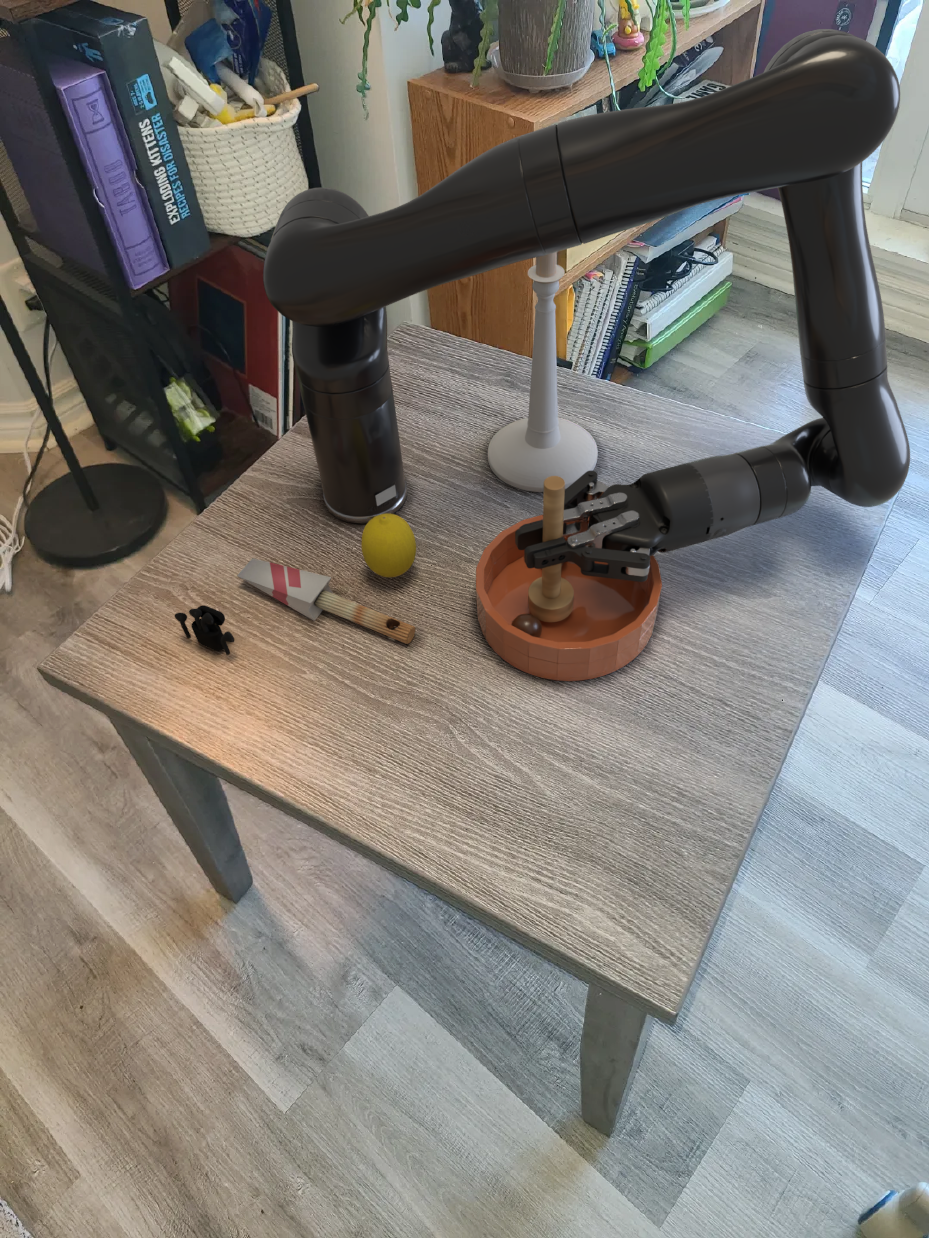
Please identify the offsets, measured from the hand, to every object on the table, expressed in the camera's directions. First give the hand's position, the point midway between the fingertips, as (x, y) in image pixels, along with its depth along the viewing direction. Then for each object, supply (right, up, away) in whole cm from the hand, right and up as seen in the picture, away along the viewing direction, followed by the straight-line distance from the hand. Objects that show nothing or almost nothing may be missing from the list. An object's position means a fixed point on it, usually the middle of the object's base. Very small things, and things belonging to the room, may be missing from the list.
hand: (521, 549), depth 81 cm
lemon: (-13, -2, +13) cm, 19 cm away
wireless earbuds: (-30, -9, +9) cm, 32 cm away
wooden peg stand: (+3, -5, +7) cm, 9 cm away
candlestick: (+4, +13, +24) cm, 28 cm away
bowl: (+5, -5, +9) cm, 11 cm away
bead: (+1, -7, +5) cm, 9 cm away
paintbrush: (-19, -5, +11) cm, 23 cm away
